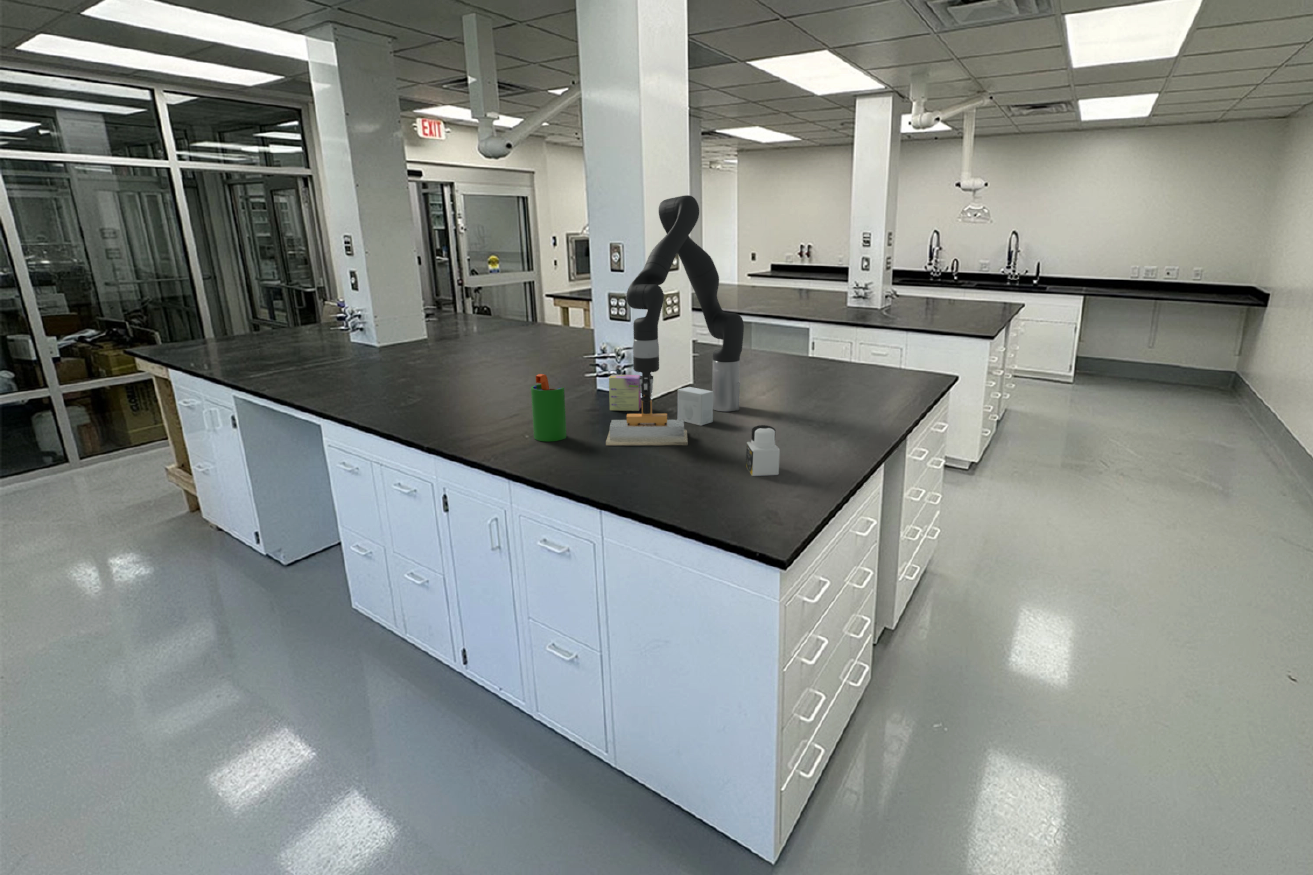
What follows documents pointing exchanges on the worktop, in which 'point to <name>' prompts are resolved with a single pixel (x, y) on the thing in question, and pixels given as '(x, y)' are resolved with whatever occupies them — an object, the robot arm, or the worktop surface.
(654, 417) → the clip
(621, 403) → the box
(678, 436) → the slotted grey base block
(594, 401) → the worktop surface
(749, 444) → the medicine bottle
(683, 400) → the skincare box
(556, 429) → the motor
